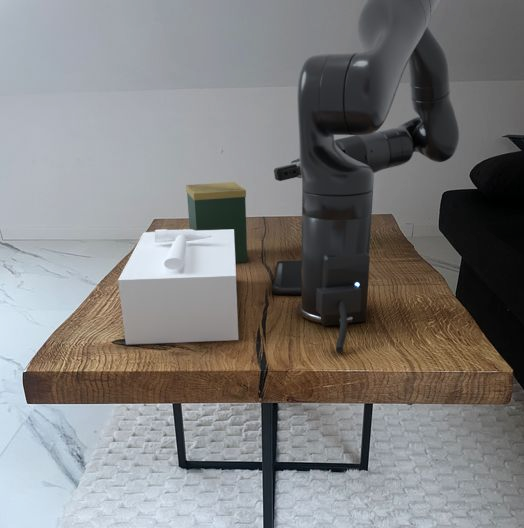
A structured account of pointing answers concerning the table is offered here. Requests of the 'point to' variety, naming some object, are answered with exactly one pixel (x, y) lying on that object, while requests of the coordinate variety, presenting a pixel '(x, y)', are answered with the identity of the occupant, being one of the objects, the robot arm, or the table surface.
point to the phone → (287, 278)
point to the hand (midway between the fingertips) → (276, 175)
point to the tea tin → (219, 211)
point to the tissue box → (180, 288)
